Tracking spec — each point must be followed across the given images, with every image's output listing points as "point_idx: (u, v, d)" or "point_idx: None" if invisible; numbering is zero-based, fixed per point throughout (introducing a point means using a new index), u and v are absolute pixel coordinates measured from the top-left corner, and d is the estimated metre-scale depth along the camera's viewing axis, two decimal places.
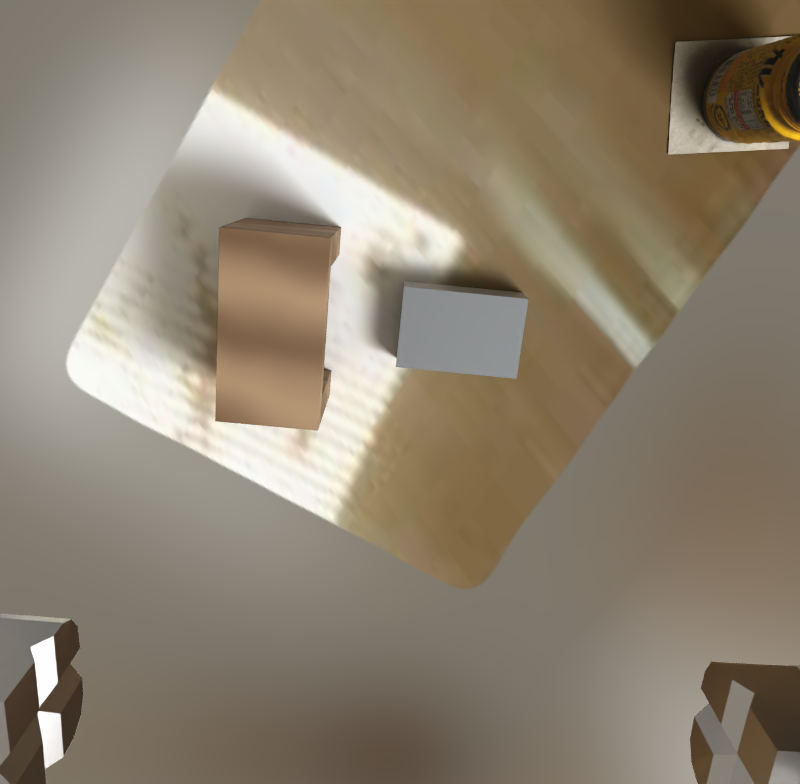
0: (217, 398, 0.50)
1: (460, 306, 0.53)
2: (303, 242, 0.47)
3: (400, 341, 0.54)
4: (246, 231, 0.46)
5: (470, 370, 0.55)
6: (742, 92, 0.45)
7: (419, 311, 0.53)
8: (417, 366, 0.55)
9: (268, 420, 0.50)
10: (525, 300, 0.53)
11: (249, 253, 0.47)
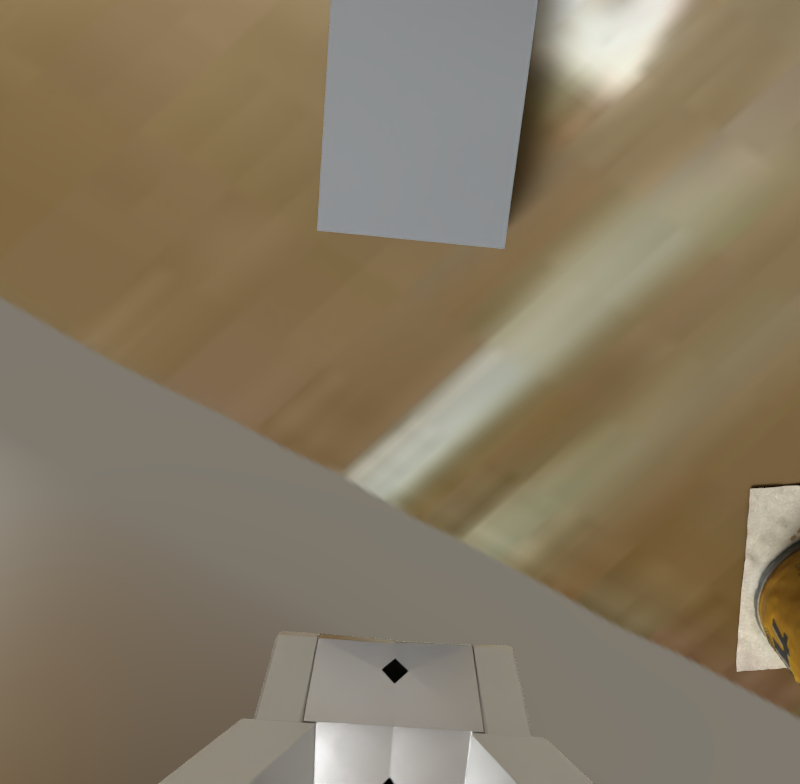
0: None
1: (493, 85, 0.22)
2: None
3: None
4: None
5: (333, 115, 0.22)
6: None
7: None
8: None
9: None
10: (501, 242, 0.23)
11: None
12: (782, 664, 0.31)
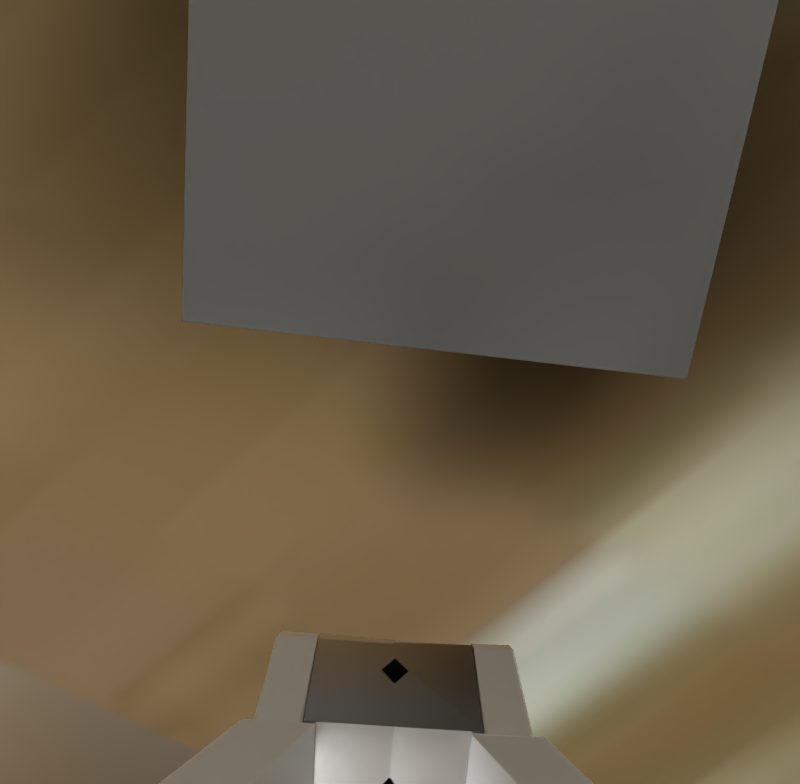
0: None
1: None
2: None
3: None
4: None
5: None
6: None
7: None
8: None
9: None
10: (680, 362, 0.09)
11: None
12: None
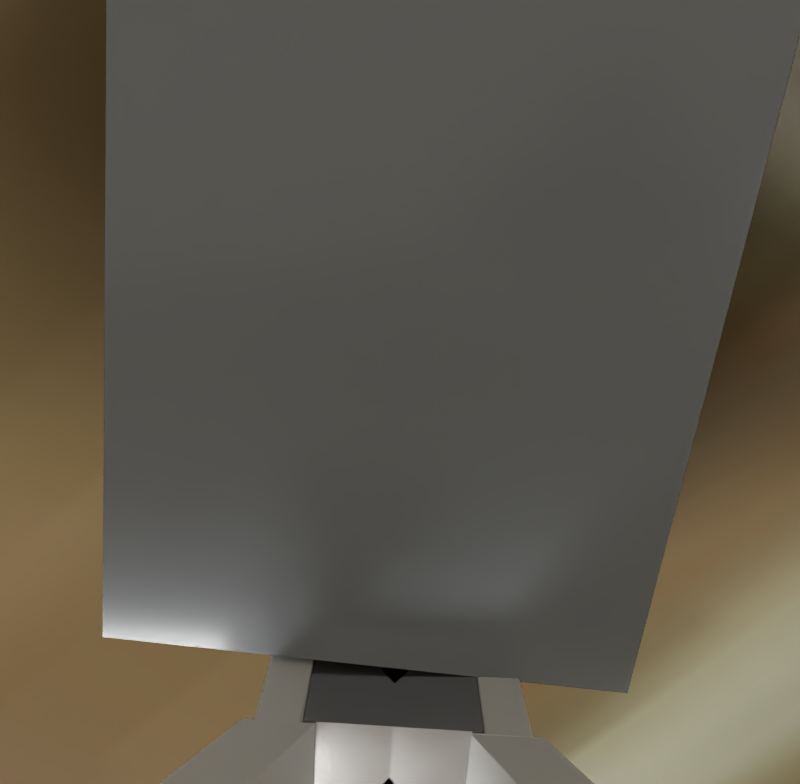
0: None
1: (632, 269, 0.07)
2: None
3: None
4: None
5: (133, 340, 0.07)
6: None
7: None
8: None
9: None
10: (620, 677, 0.08)
11: None
12: None
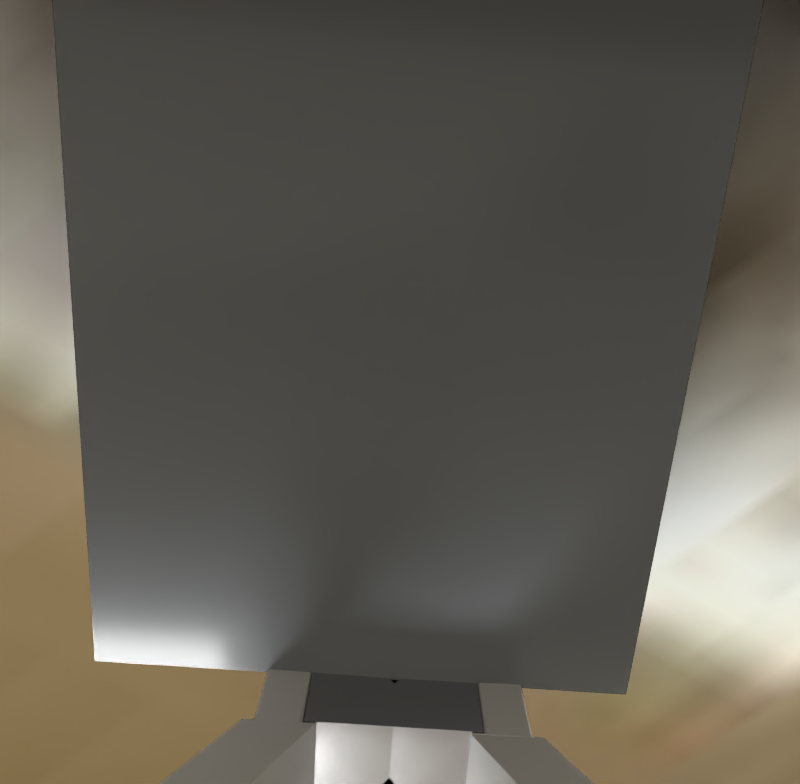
0: None
1: (604, 265, 0.07)
2: None
3: None
4: None
5: (104, 364, 0.07)
6: None
7: None
8: None
9: None
10: (617, 679, 0.08)
11: None
12: None
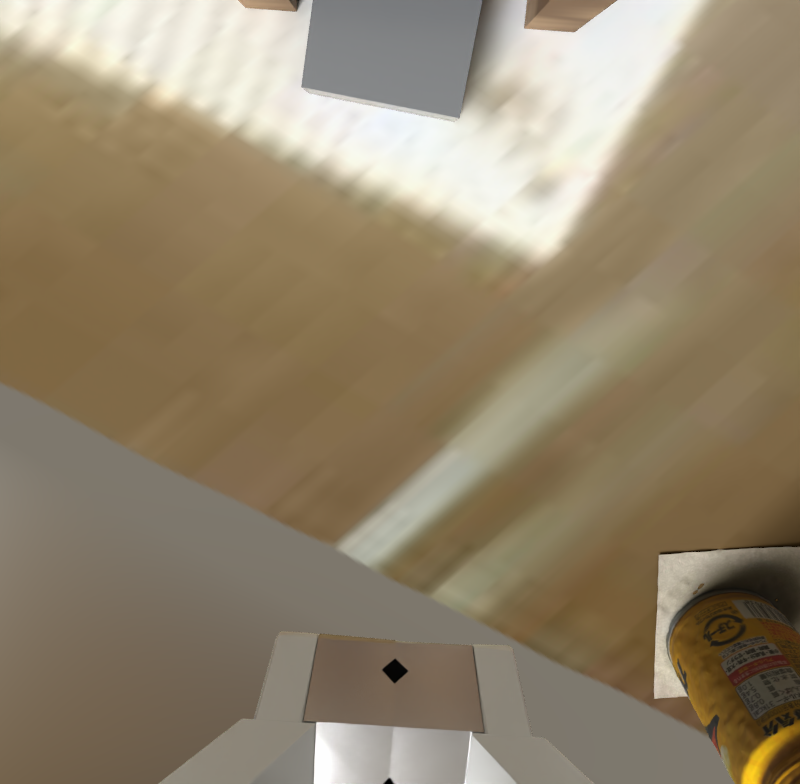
0: None
1: None
2: None
3: None
4: None
5: None
6: (794, 673, 0.30)
7: None
8: None
9: None
10: (457, 112, 0.28)
11: None
12: None
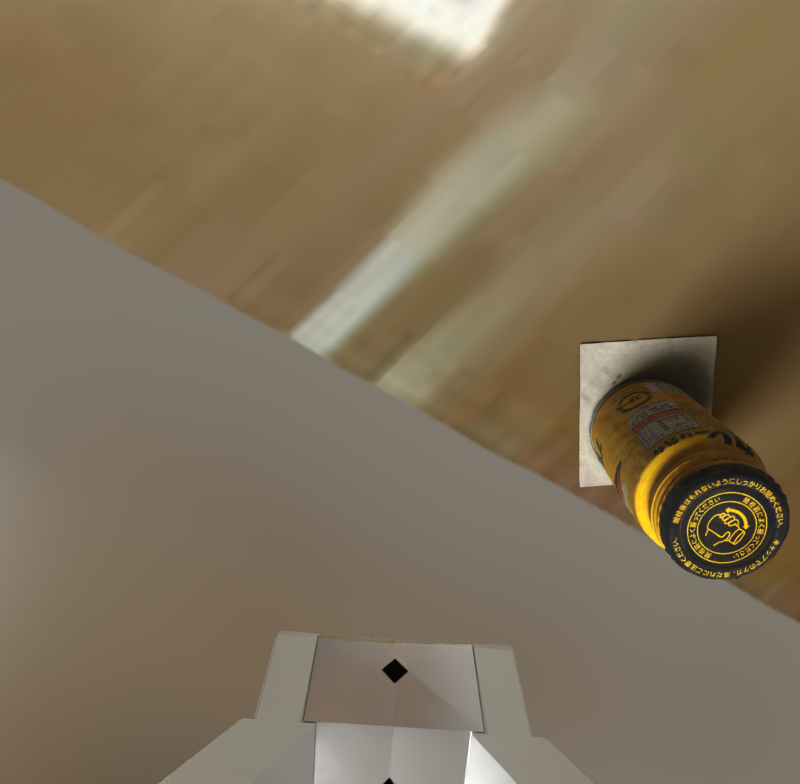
0: None
1: None
2: None
3: None
4: None
5: None
6: (686, 416, 0.34)
7: None
8: None
9: None
10: None
11: None
12: None
